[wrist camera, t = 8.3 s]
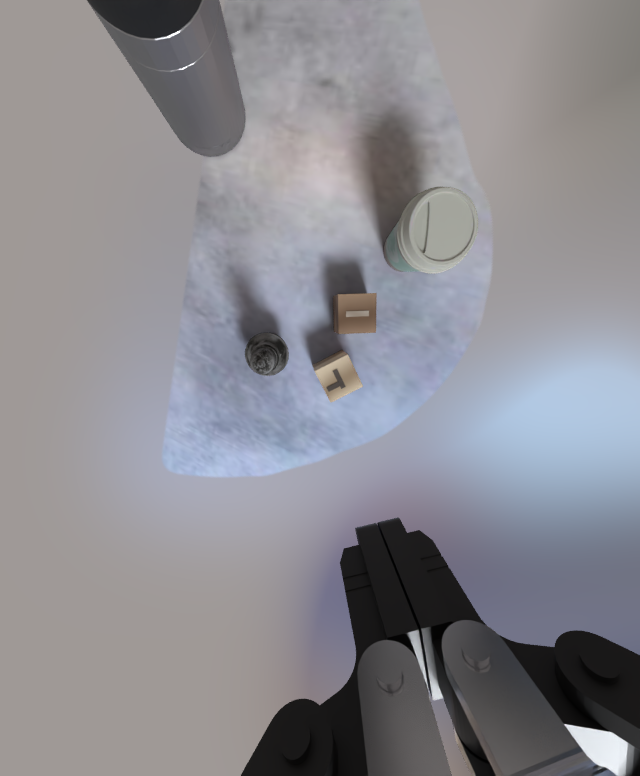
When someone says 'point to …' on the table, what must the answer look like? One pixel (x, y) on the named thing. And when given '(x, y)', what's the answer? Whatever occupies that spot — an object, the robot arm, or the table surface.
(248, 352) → the black chess piece
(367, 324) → the walnut block digit
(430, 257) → the coffee cup
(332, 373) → the beech block digit
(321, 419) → the table surface
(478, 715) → the robot arm
